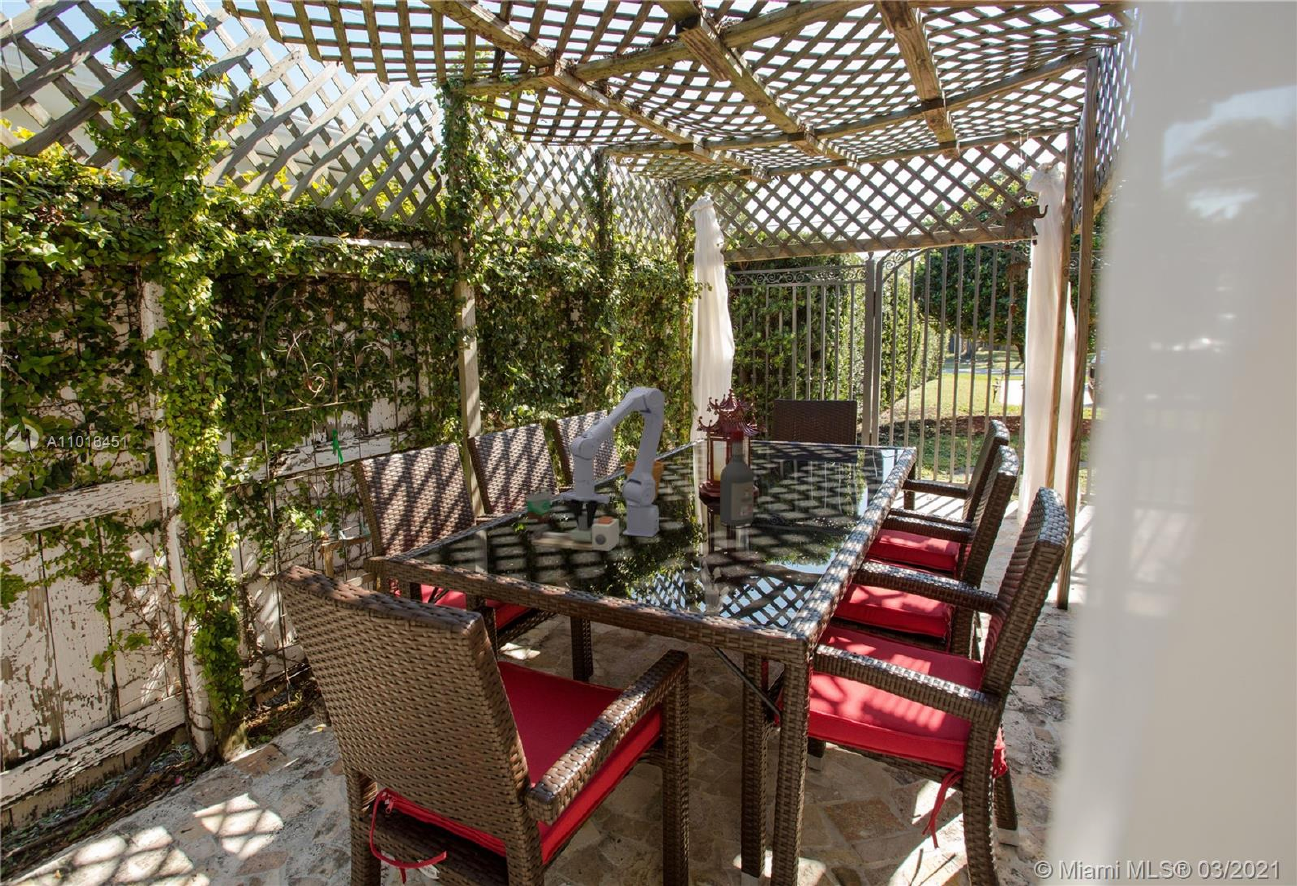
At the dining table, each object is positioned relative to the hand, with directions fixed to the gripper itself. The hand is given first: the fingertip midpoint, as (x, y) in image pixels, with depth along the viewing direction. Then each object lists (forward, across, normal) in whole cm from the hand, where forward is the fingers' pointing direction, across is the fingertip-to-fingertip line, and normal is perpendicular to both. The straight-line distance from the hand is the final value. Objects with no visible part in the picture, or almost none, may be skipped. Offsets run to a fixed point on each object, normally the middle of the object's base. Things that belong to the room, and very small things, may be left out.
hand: (585, 525), depth 191 cm
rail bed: (+5, -5, 0) cm, 8 cm away
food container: (+6, -23, +19) cm, 30 cm away
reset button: (-1, +6, 0) cm, 6 cm away
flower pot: (+6, 0, +56) cm, 56 cm away
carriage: (+4, 0, 0) cm, 4 cm away
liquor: (+6, +38, +32) cm, 50 cm away
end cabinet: (+5, +6, 0) cm, 8 cm away
